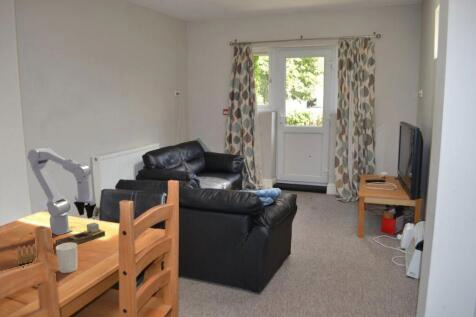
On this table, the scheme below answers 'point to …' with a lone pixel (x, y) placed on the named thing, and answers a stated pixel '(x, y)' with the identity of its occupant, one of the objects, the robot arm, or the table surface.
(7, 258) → the table surface
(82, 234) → the beige slotted frame
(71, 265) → the white cup
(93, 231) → the metal peg
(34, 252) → the ammunition clip
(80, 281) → the table surface
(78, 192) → the robot arm
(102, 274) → the table surface
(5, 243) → the table surface
